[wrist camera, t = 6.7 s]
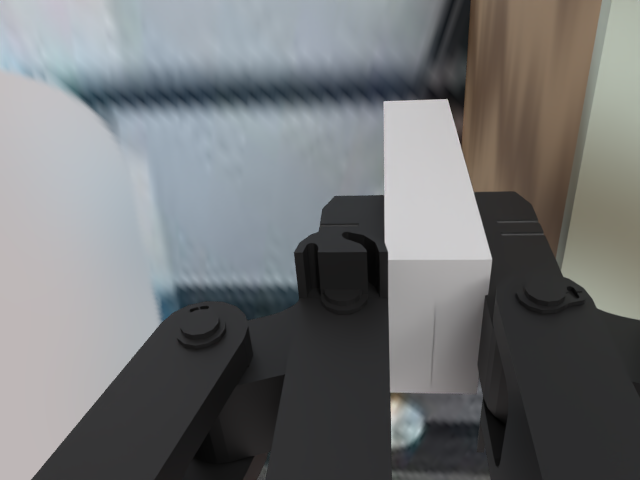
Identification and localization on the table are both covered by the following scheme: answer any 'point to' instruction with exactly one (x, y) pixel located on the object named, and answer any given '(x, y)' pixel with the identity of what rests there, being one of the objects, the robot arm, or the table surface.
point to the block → (563, 130)
